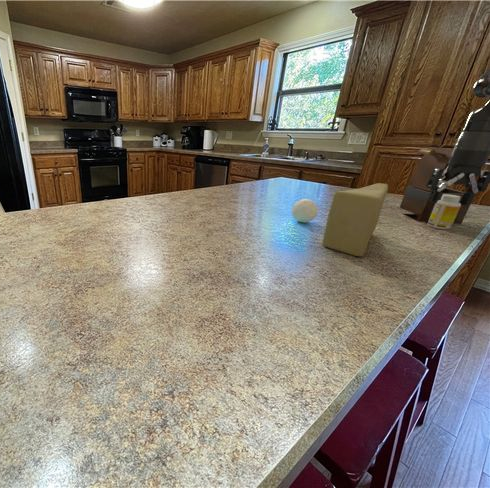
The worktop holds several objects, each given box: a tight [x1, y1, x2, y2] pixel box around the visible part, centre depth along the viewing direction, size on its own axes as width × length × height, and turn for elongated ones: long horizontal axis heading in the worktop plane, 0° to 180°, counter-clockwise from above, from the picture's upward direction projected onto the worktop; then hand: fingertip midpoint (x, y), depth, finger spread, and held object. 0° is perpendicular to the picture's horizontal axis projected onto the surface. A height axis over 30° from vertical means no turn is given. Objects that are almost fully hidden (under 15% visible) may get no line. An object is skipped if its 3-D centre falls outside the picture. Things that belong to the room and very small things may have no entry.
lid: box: [406, 146, 454, 192], centre depth 90 cm, size 13×12×5 cm
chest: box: [399, 185, 476, 225], centre depth 93 cm, size 13×12×10 cm
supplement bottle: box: [426, 194, 461, 230], centre depth 84 cm, size 6×6×10 cm
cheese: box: [322, 182, 389, 257], centre depth 71 cm, size 22×10×15 cm, turn 128°
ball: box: [291, 198, 319, 224], centre depth 88 cm, size 8×8×8 cm
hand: (448, 203), depth 83 cm, fingers open, 8 cm apart
